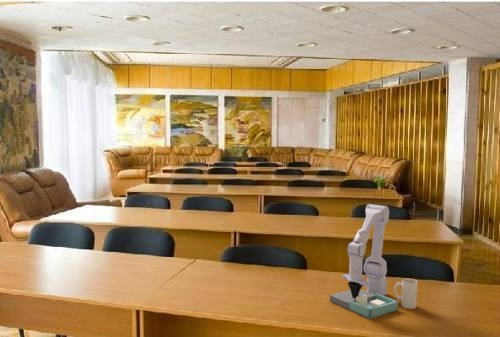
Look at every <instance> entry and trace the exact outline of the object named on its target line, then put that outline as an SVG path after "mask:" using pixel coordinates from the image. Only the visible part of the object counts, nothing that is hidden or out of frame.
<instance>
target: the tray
mask: <svg viewBox="0 0 500 337" xmlns="http://www.w3.org/2000/svg"><path fill="white" fill-rule="evenodd" d="M377 299H378V300H380V301H383V302H386V304H384V305H381V306H377V307H371V306H370V302H368V303H367V307H365V306H362V305H360V304H358V303H355V302H353V301H349V310H348V311H351V312H353V313H356V314H358V315H360V316H362V317H364V318H367V319H369V320H372V319H374V318H375V319H376V318H378V317H381V316H384V315H387V314H390V313H393V312H396V311H398V310H399V309H398V308H399V301H398V300H395V299H393V298H390V297H387V296H386V295H383V296H382V295H380V294H377V293H376V294H375V300H377Z"/></svg>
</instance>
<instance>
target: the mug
mask: <svg viewBox="0 0 500 337" xmlns="http://www.w3.org/2000/svg"><path fill="white" fill-rule="evenodd" d="M399 286H401V295H399V294H398V292H397V288H398V287H399ZM393 291H394V292H393V293H394V295H395V297H396V299H397V300H400V301H401V307H403V308H405V309H408V310H412V309H416V308H417V297H418V296H417V295H418V280H417V279H414V278H407V277H406V278H402V279H401V282H400V281H396V283H395V285H394V287H393Z"/></svg>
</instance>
